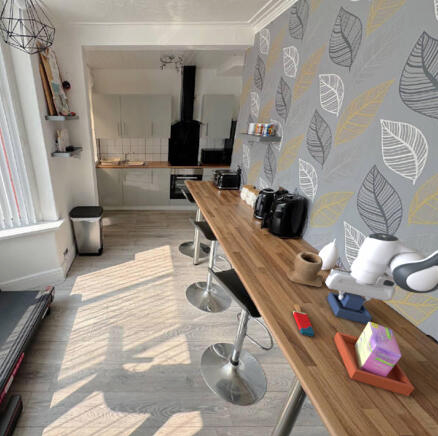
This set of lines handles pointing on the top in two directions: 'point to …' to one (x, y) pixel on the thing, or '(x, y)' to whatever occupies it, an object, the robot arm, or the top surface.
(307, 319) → the popsicle
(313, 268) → the stone cup
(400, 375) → the terracotta bin
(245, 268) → the top surface
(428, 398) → the top surface
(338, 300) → the slate bin
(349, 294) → the slate block
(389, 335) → the box
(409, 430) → the top surface
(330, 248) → the sauce bottle
